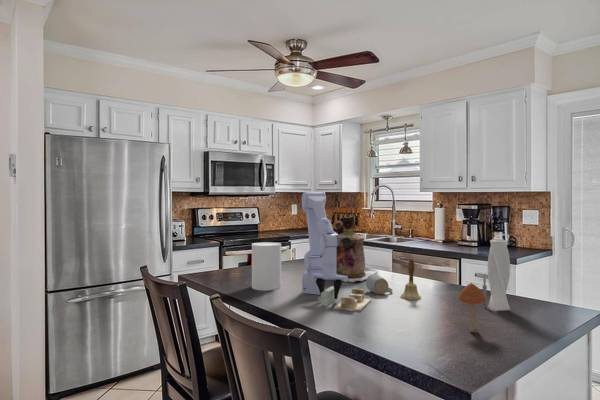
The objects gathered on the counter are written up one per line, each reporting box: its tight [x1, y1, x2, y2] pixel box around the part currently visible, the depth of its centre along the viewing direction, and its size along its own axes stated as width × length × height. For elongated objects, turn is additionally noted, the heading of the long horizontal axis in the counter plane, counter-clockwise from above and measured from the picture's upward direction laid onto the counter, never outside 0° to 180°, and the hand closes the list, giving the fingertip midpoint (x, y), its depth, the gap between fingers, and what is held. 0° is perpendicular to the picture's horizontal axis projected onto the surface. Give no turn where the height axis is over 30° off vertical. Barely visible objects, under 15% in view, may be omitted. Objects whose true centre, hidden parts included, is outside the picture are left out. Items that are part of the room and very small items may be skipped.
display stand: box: [333, 287, 372, 313], centre depth 154 cm, size 10×16×4 cm, turn 157°
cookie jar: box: [334, 215, 379, 283], centre depth 207 cm, size 25×25×32 cm
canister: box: [251, 241, 282, 292], centre depth 184 cm, size 14×14×20 cm
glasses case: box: [320, 285, 335, 307], centre depth 158 cm, size 2×12×5 cm, turn 157°
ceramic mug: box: [365, 273, 393, 296], centre depth 173 cm, size 11×8×8 cm
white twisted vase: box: [481, 233, 511, 312], centre depth 148 cm, size 8×8×28 cm
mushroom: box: [457, 282, 486, 333], centre depth 123 cm, size 8×8×15 cm
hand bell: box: [400, 258, 422, 301], centre depth 164 cm, size 8×8×16 cm
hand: (329, 298), depth 158 cm, fingers open, 5 cm apart
